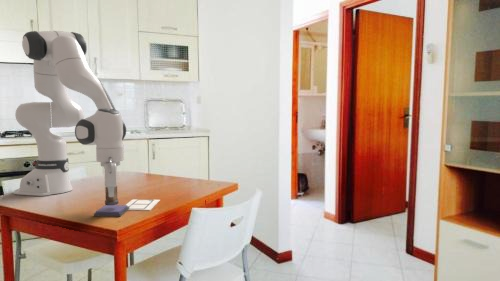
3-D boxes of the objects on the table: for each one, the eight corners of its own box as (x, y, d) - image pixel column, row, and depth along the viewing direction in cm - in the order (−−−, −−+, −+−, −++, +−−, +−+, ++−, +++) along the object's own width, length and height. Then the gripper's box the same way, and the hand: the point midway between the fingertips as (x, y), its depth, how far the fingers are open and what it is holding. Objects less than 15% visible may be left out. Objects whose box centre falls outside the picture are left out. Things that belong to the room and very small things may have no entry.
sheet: (119, 210, 127) (119, 209, 127) (132, 200, 141) (132, 199, 141) (150, 210, 127) (150, 209, 127) (160, 200, 141) (160, 199, 141)
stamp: (102, 205, 122) (101, 179, 121) (109, 201, 126) (108, 176, 126) (114, 205, 121) (113, 179, 121) (120, 202, 126) (120, 177, 125)
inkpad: (93, 216, 120) (93, 211, 120) (104, 208, 129) (104, 204, 129) (120, 216, 120) (120, 212, 120) (129, 209, 129) (129, 204, 129)
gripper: (120, 159, 114) (121, 201, 115) (119, 152, 133) (120, 188, 134) (99, 160, 112) (100, 203, 113) (101, 152, 131) (102, 189, 132)
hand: (111, 195), depth 124 cm, fingers closed on stamp, 4 cm apart
